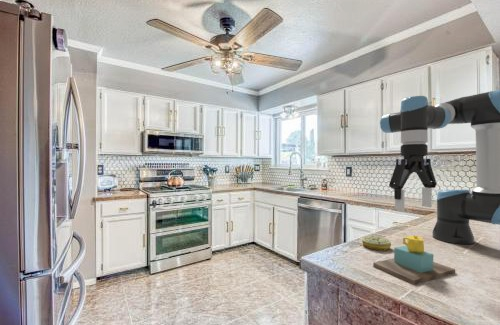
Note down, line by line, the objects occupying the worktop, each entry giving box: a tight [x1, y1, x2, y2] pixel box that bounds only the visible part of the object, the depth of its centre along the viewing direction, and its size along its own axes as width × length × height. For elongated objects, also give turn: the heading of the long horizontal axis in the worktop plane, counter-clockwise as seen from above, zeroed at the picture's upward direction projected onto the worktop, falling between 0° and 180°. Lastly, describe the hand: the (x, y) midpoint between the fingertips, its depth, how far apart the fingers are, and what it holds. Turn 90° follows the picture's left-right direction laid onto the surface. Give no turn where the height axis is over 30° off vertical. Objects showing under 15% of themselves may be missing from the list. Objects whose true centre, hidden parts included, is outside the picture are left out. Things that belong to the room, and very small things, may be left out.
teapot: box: [402, 235, 425, 254], centre depth 83 cm, size 8×6×5 cm
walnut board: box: [372, 257, 456, 285], centre depth 84 cm, size 20×14×1 cm
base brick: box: [393, 245, 434, 273], centre depth 84 cm, size 6×9×5 cm, turn 23°
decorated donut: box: [361, 235, 392, 252], centre depth 106 cm, size 10×11×4 cm
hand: (413, 208), depth 84 cm, fingers open, 13 cm apart
